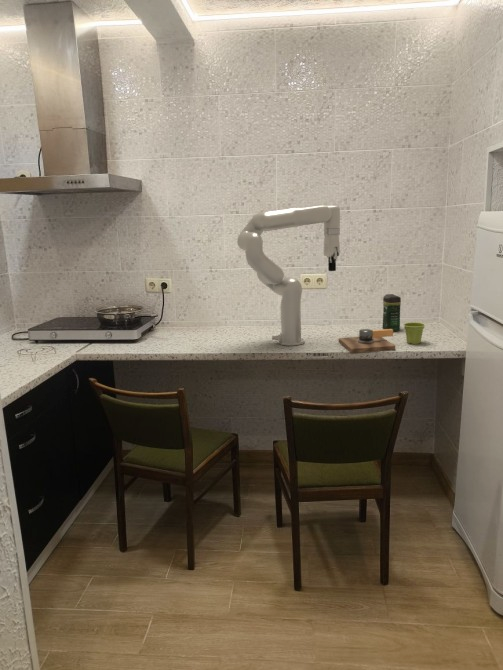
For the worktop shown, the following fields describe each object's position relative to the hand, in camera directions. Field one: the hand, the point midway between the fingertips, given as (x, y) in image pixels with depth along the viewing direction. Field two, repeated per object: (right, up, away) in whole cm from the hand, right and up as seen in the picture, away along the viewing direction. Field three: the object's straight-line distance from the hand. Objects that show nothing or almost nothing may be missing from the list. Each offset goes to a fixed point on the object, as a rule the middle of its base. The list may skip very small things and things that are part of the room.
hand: (332, 270), depth 233 cm
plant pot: (+36, -35, -9) cm, 51 cm away
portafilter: (+18, -33, -12) cm, 39 cm away
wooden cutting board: (+14, -36, -12) cm, 40 cm away
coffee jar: (+34, -29, +17) cm, 47 cm away
